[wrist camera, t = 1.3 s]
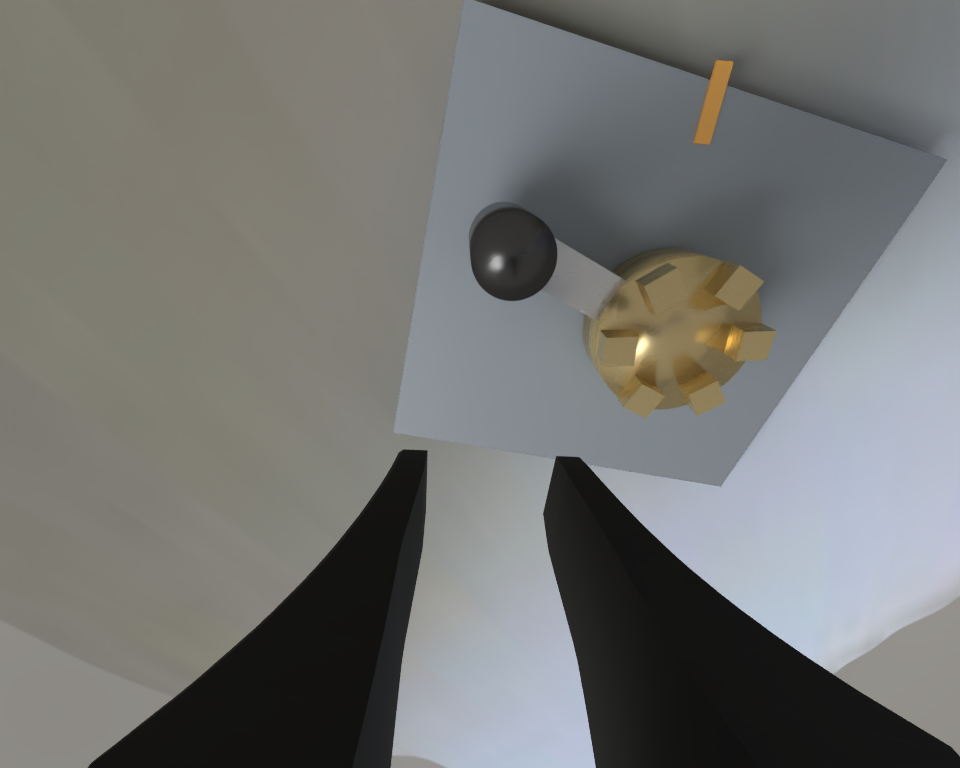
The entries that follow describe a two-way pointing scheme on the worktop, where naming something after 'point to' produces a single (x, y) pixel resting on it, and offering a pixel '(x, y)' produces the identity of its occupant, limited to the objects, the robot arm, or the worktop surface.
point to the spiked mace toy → (633, 309)
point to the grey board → (631, 239)
